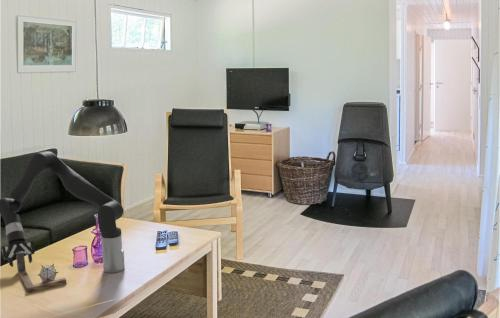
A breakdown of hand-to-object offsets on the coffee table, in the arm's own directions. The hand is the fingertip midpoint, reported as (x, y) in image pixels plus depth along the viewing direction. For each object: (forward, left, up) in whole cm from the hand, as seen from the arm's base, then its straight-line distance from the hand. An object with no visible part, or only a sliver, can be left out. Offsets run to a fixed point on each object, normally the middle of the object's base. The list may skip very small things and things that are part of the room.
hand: (21, 264), depth 230 cm
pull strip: (-6, +10, -5) cm, 13 cm away
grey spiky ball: (-9, +16, -5) cm, 19 cm away
